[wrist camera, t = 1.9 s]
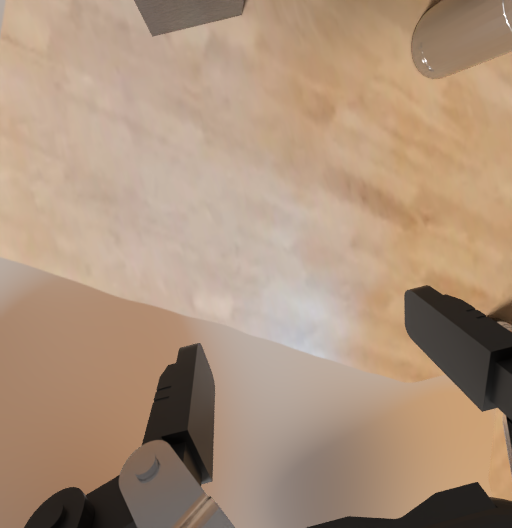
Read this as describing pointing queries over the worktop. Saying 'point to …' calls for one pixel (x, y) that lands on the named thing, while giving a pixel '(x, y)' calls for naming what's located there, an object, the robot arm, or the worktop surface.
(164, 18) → the gray grooved tower
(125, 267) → the worktop surface
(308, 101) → the worktop surface
